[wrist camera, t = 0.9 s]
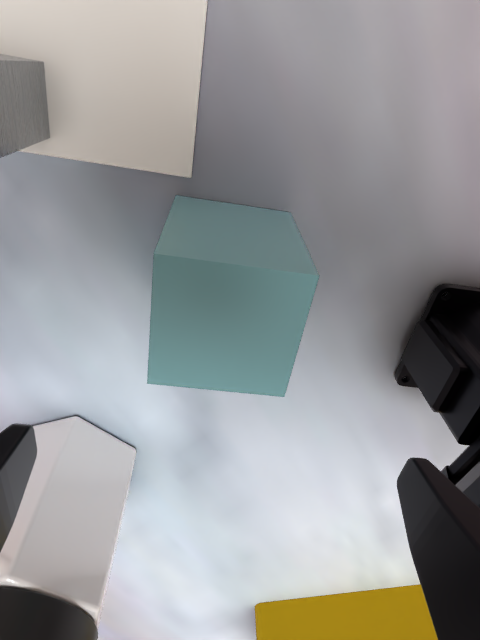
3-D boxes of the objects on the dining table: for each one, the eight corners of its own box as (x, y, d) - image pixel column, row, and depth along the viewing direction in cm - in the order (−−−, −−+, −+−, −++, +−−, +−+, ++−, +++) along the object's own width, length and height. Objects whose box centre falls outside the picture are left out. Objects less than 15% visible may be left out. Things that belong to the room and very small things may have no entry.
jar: (5, 402, 24) (-156, 650, 14) (143, 424, 25) (89, 664, 15) (11, 494, 28) (-107, 730, 18) (127, 507, 30) (77, 735, 20)
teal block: (290, 212, 18) (319, 275, 13) (268, 309, 21) (284, 396, 15) (175, 195, 18) (153, 253, 12) (168, 297, 20) (147, 383, 15)
